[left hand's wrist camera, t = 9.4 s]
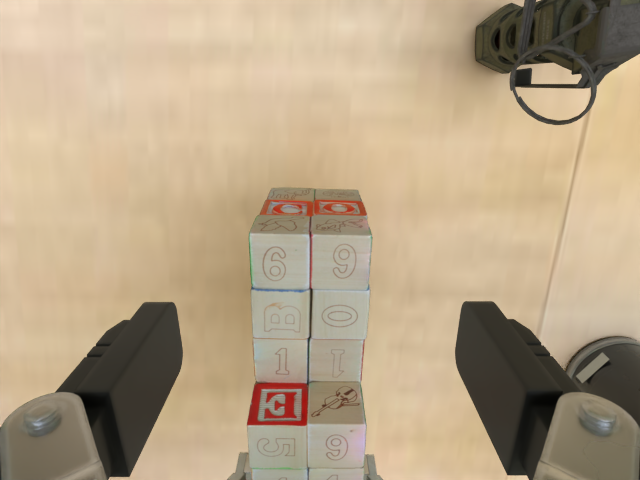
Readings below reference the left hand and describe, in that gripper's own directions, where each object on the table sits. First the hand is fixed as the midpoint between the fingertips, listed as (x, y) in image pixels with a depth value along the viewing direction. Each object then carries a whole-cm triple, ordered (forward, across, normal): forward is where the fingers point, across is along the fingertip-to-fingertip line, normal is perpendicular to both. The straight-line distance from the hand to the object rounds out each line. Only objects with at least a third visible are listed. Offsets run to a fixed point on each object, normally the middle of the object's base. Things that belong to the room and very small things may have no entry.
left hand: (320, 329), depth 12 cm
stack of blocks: (+18, -1, -11) cm, 21 cm away
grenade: (+28, +14, +8) cm, 33 cm away
